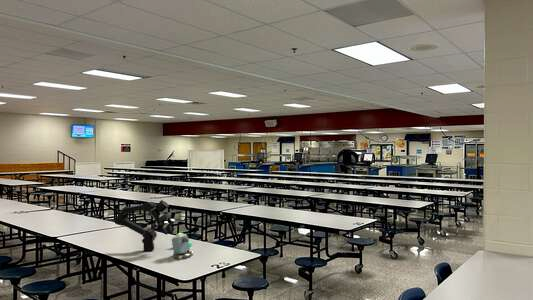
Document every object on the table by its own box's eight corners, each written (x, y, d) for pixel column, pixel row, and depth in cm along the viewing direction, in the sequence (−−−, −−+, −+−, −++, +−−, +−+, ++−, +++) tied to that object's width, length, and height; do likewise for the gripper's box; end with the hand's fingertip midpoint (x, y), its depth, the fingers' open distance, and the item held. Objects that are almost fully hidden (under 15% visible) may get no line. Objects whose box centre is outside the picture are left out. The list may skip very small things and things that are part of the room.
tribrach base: (167, 257, 243) (167, 251, 243) (180, 252, 255) (180, 247, 255) (182, 260, 237) (182, 254, 237) (195, 255, 249) (195, 249, 249)
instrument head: (172, 254, 243) (169, 235, 244) (183, 251, 252) (180, 232, 253) (184, 253, 238) (180, 233, 240) (194, 249, 247) (191, 230, 249)
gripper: (153, 211, 248) (166, 229, 243) (173, 207, 264) (184, 224, 259) (145, 221, 252) (157, 239, 246) (165, 217, 268) (176, 233, 263)
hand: (169, 233), depth 254 cm, fingers open, 4 cm apart
